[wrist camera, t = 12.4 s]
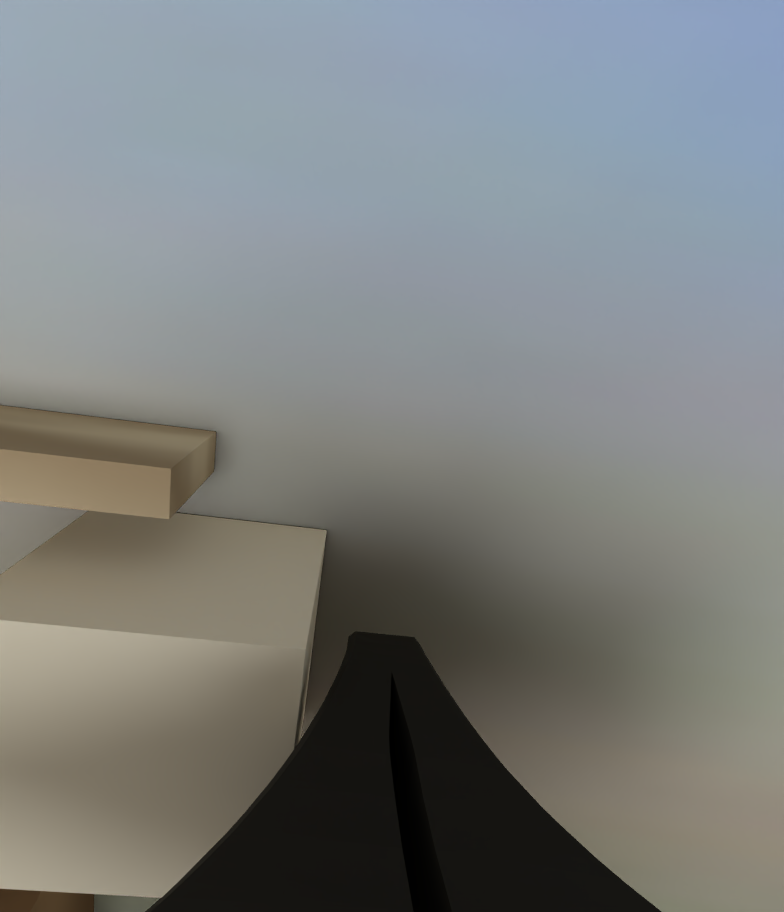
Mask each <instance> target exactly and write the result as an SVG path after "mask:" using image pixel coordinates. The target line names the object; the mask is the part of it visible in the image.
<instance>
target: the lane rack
mask: <svg viewBox="0 0 784 912" xmlns="http://www.w3.org/2000/svg"><path fill="white" fill-rule="evenodd" d="M215 445H216V432H215V431H206V430H198V429H190V428H182V427H174V426H165V425H157V424H149V423H141V422H133V421H125V420H116V419H108V418H100V417H92V416H84V415H75V414H67V413H59V412H51V411H43V410H35V409H26V408H18V407H10V406H2V405H0V501H5V502H15V503H24V504H33V505H42V506H51V507H61V508H70V509H79V510H88V511H97V512H107V513H116V514H125V515H134V516H144V517H153V518H162V519H170V518H171V517H172V516H173V515H174V514H175V512H176V511H177V510H178V509H179V508H180V507H181V506H182V505H183V504H184V503H185V502H186V501H187V500H188V499H189V498H190V496H191V495H192V494H193V493H194V492H195V491H196V490H197V489H198V488H199V487H200V486H201V485H202V484H203V483H204V482H205V480H206V479H207V478H208V477H209V476H210V475H211V474H212V473H213V472H214V462H215Z"/></svg>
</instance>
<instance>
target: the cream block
mask: <svg viewBox="0 0 784 912" xmlns="http://www.w3.org/2000/svg"><path fill="white" fill-rule="evenodd" d="M326 533H327V530H321V529H312V528H303V527H295V526H286V525H277V524H269V523H260V522H251V521H242V520H234V519H225V518H216V517H208V516H199V515H190V514H181V513H175V514H174V515H173V516H172V517H171V518H170V519H162V518H153V517H144V516H134V515H125V514H116V513H107V512H97V511H88V512H86V513H85V514H84V515H82V516H81V517H79V518H78V519H77V520H75V521H74V522H73V523H71V524H70V525H68V526H67V527H66V528H64V529H63V530H62V531H60V532H59V533H57V534H56V535H55V536H53V537H52V538H50V539H49V540H48V541H46V542H45V543H44V544H42V545H41V546H39V547H38V548H37V549H35V550H34V551H33V552H31V553H30V554H28V555H27V556H26V557H24V558H23V559H22V560H20V561H19V562H17V563H16V564H15V565H13V566H12V567H10V568H9V569H8V570H6V571H5V572H4V573H2V574H1V575H0V889H15V890H33V891H50V892H67V893H85V894H102V895H119V896H137V897H154V898H162V897H163V896H164V895H165V894H166V893H167V892H168V891H169V890H170V889H171V888H172V887H173V886H174V885H175V884H176V883H178V882H179V881H180V880H181V879H182V878H183V877H184V876H185V875H186V873H187V872H188V871H189V870H190V869H191V868H192V867H193V866H194V865H195V864H196V863H197V862H198V861H199V860H200V859H201V858H202V857H203V856H204V855H205V854H206V853H207V852H208V851H209V850H210V849H211V848H212V847H213V846H214V845H215V844H216V843H217V842H218V841H219V840H220V839H221V838H222V837H223V836H224V835H225V834H226V833H227V832H228V831H229V830H230V828H231V827H232V826H233V825H234V824H235V823H236V822H237V821H238V820H239V818H240V817H241V816H242V815H243V814H244V813H245V812H246V810H247V809H248V808H249V807H250V806H251V804H252V803H253V802H254V801H255V799H256V798H257V797H258V796H259V795H260V793H261V792H262V791H263V790H264V789H265V787H266V786H267V785H268V784H269V783H270V781H271V780H272V779H273V777H274V776H275V775H276V773H277V772H278V771H279V769H280V768H281V767H282V765H283V764H284V763H285V761H286V760H287V759H288V757H289V756H290V754H291V753H292V752H293V750H294V749H295V747H296V746H297V744H298V743H299V741H300V740H301V734H302V727H303V720H304V713H305V705H306V697H307V689H308V681H309V672H310V664H311V656H312V648H313V640H314V631H315V623H316V615H317V607H318V598H319V590H320V582H321V574H322V566H323V557H324V549H325V541H326Z"/></svg>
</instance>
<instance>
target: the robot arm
mask: <svg viewBox="0 0 784 912" xmlns="http://www.w3.org/2000/svg"><path fill="white" fill-rule="evenodd" d="M146 912H661V911H660V910H659V909H657V908H656V907H655V906H654V905H652V904H651V903H650V902H649V901H647V900H646V899H645V898H644V897H642V896H641V895H640V894H639V893H637V892H636V891H635V890H634V889H632V888H631V887H630V886H629V885H627V884H626V883H625V882H624V881H622V880H621V879H620V878H619V877H618V876H617V875H615V874H614V873H613V872H612V871H611V870H610V869H608V868H607V867H606V866H605V865H604V864H602V863H601V862H600V861H599V860H598V859H597V858H596V857H594V856H593V855H592V854H591V853H590V852H589V851H588V850H587V849H586V848H585V847H583V846H582V845H581V844H580V843H579V842H578V841H577V840H576V839H575V838H574V837H573V836H572V835H570V834H569V833H568V832H567V831H566V830H565V829H564V828H563V827H562V826H561V825H560V824H559V823H558V822H556V821H555V820H554V819H553V818H552V817H551V816H550V815H549V814H548V813H547V812H546V811H545V810H544V809H543V808H542V807H541V806H540V805H539V804H538V803H537V802H536V800H535V799H534V798H533V797H532V796H531V795H530V794H529V793H528V792H527V791H526V790H525V789H524V788H523V786H522V785H521V784H520V783H519V782H518V781H517V780H516V779H515V778H514V777H513V776H512V775H511V774H510V772H509V771H508V770H507V769H506V768H505V767H504V766H503V764H502V763H501V762H500V761H499V760H498V758H497V757H496V756H495V755H494V753H493V752H492V751H491V750H490V748H489V747H488V746H487V745H486V743H485V742H484V741H483V739H482V738H481V737H480V736H479V734H478V733H477V732H476V730H475V729H474V728H473V726H472V725H471V724H470V722H469V721H468V719H467V718H466V717H465V715H464V714H463V712H462V711H461V709H460V708H459V706H458V705H457V704H456V702H455V701H454V699H453V698H452V696H451V695H450V693H449V692H448V690H447V689H446V687H445V686H444V684H443V683H442V681H441V679H440V678H439V676H438V675H437V673H436V671H435V670H434V668H433V666H432V665H431V663H430V662H429V660H428V658H427V656H426V655H425V653H424V651H423V650H422V648H421V646H420V644H419V643H418V641H417V640H416V639H415V638H414V637H406V636H396V635H386V634H375V633H365V632H354V633H353V634H351V635H350V636H349V639H348V646H347V651H346V654H345V657H344V660H343V662H342V665H341V667H340V670H339V672H338V674H337V676H336V678H335V680H334V682H333V684H332V686H331V688H330V690H329V692H328V694H327V696H326V698H325V700H324V702H323V704H322V706H321V707H320V709H319V711H318V712H317V714H316V716H315V717H314V719H313V721H312V722H311V724H310V725H309V727H308V729H307V730H306V732H305V734H304V735H303V737H302V738H301V740H300V741H299V743H298V744H297V746H296V747H295V749H294V750H293V752H292V753H291V754H290V756H289V757H288V759H287V760H286V761H285V763H284V764H283V765H282V767H281V768H280V769H279V771H278V772H277V773H276V775H275V776H274V777H273V779H272V780H271V781H270V783H269V784H268V785H267V786H266V787H265V789H264V790H263V791H262V792H261V793H260V795H259V796H258V797H257V798H256V799H255V801H254V802H253V803H252V804H251V806H250V807H249V808H248V809H247V810H246V812H245V813H244V814H243V815H242V816H241V817H240V818H239V820H238V821H237V822H236V823H235V824H234V825H233V826H232V827H231V828H230V830H229V831H228V832H227V833H226V834H225V835H224V836H223V837H222V838H221V839H220V840H219V841H218V842H217V843H216V844H215V845H214V846H213V847H212V848H211V849H210V850H209V851H208V852H207V853H206V854H205V855H204V856H203V857H202V858H201V859H200V860H199V861H198V862H197V863H196V864H195V865H194V866H193V867H192V868H191V869H190V870H189V871H188V872H187V873H186V875H185V876H184V877H183V878H182V879H181V880H180V881H179V882H178V883H176V884H175V885H174V886H173V887H172V888H171V889H170V890H169V891H168V892H167V893H166V894H165V895H164V896H163V897H162V898H160V899H159V900H158V901H157V902H156V903H155V904H154V905H152V906H151V907H150V908H149V909H148V910H147V911H146Z"/></svg>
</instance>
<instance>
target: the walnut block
mask: <svg viewBox="0 0 784 912" xmlns="http://www.w3.org/2000/svg"><path fill="white" fill-rule="evenodd" d="M0 912H94V894H85V893H67V892H50V891H33V890H15V889H0Z"/></svg>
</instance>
